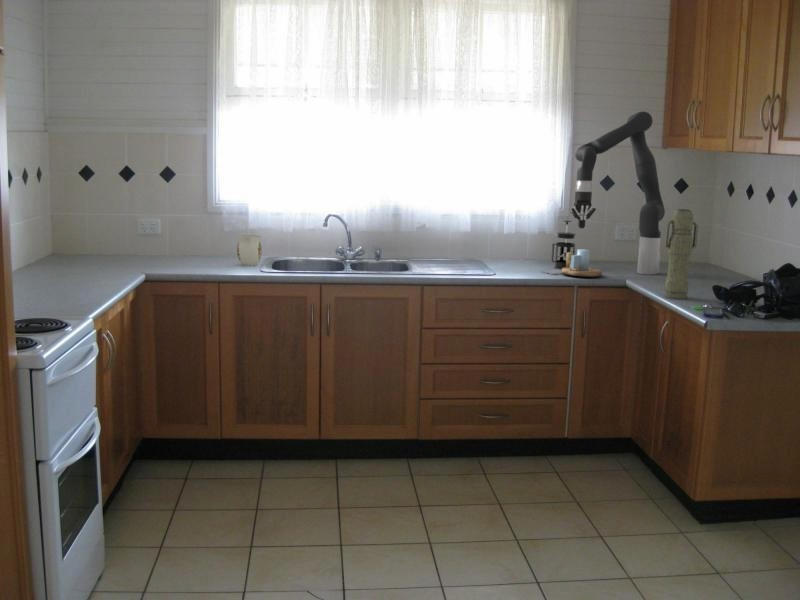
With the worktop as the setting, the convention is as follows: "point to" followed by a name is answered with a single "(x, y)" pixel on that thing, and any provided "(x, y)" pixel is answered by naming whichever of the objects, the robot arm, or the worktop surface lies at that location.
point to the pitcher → (249, 249)
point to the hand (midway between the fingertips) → (581, 228)
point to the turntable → (576, 272)
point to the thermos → (679, 253)
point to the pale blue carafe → (580, 260)
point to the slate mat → (553, 272)
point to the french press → (565, 235)
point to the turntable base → (582, 276)
